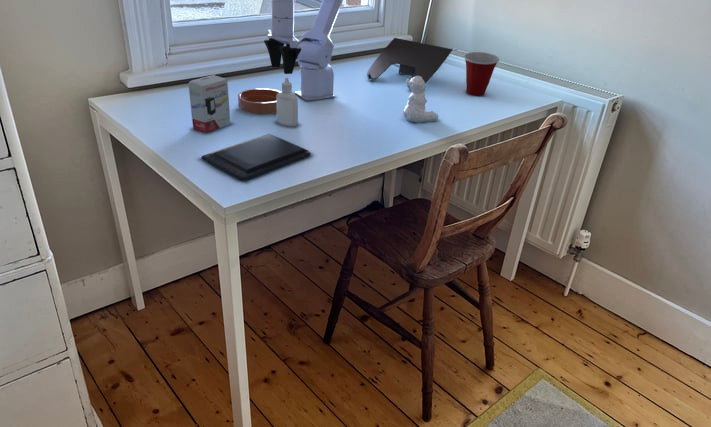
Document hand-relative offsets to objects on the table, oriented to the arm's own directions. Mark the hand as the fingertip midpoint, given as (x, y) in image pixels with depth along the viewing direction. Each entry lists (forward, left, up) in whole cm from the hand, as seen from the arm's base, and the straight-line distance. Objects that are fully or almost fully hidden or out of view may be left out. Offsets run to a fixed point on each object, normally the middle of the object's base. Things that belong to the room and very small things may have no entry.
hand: (281, 70), depth 138 cm
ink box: (+22, +6, -11) cm, 26 cm away
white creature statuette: (-30, +23, -11) cm, 39 cm away
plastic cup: (-63, +12, -11) cm, 65 cm away
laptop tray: (-50, -9, -11) cm, 52 cm away
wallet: (+19, +28, -11) cm, 36 cm away
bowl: (+5, -2, -10) cm, 12 cm away
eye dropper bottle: (+4, +12, -11) cm, 17 cm away
